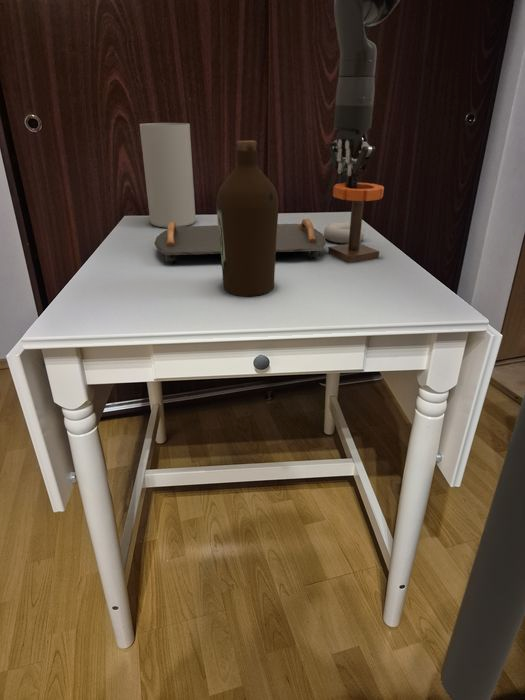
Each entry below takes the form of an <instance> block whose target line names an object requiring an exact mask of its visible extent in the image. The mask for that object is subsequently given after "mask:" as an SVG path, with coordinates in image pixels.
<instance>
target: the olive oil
mask: <svg viewBox="0 0 525 700" xmlns="http://www.w3.org/2000/svg"><path fill="white" fill-rule="evenodd" d="M257 144H258V143H257V140H249V139H248V140H245V139H244V140H237V141H236V146H237V150H236V166H235V168H234V169H233V170H232V172H231V173H230V174H229V175H228V177H226V179H225V180H224V181H223V183H221V185H220V186H219V189H218V193H217V196H216V205H215V206H216V216H217V226H218V228H219V238H220V250H221V254H220V258H221V271H222V286H223V290H224V291H225V292H226V293H229V294H231V295H234V296H240V297H257V296H262V295H266V294H269V293H270V292H272V291H273V290H274V289H275V274H276V273H275V271H276V253H277V252H276V238H277V224H279V223H278V221H279V207H280V206H279V204H280V201H279V197H278V196H279V195H278V193H277V190H276V189H277V188H276V187H275V186H274V184H273V183H272V182H271V181H270V179H269V178H268V177H267V176H266V174H265V173H264V172H263V171H262V170H261V168H259V166H258V149H257Z"/></svg>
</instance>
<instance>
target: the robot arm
mask: <svg viewBox="0 0 525 700" xmlns="http://www.w3.org/2000/svg"><path fill="white" fill-rule="evenodd" d="M400 1H401V0H334V2H333V18H334V25H335V32H336V39H337V44H338V49H339V59H338V78H337V83H336V89H335V103H334V104H335V105H334V119H333V128H334V129H335V130H337V135H336V137H335V140H334V141H329V142H328V148H329V149H328V151H329V155H330V159H331V164H332V168H333V170H334V171H337V174H339V175H338V178H339V179H338V184H339V183H347V184H346V187H347V188H351V189H357V183H359V182H358V181H359V176H360V175H362V174H366V172H367V170H368V168H369V166H370V163H371V161H372V158H373V157H374V155H375V152H376V147H375V146H374V145H370V144H369V143H368V135H367V134H368V133H367V132H368V130H370V129H371V128H372V121H373V114H374V113H373V111H374V102H375V92H376V91H375V90H376V89H375V87H376V86H375V76H376V68H377V67H376V66H377V54H378V49H377V45H376V44H375V43H374V42H373V41H371V40H369V39H368V38H367V35H366V29H365V27H370V28H371V27H373V26H374V27H375V26H377V25H378V24H380V23H382V22H383V21H385V20H386V19H387V18H388V17H389V15H391V13H393V11H394V9H395V8H396V7H397V5H398V4H399V2H400Z"/></svg>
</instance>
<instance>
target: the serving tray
mask: <svg viewBox="0 0 525 700" xmlns="http://www.w3.org/2000/svg"><path fill="white" fill-rule="evenodd" d="M326 244H327V241H326V238H325V236H324V233H322V232H321V231H319V230H317V229H316V228H315V227H314V225H313V222H312V221H311V220H310V219H308V218H303V219H302V220H301V223H277V238H276V253H294V252H295V253H297V252H300V253H301V252H308V253H309V254H308V255H309V258H310V260H313V261H314V260H316V261H317V260H318V258H319V256H320V252H321V251H322V250H324V248H325V246H326ZM154 246H155V248H156V250H158V251H159V252H160V253H161V254H162V255H165V262H167V264H169V265H172V264H175V262H176V256H183V255H184V256H187V255H189V256H192V255H219V254H220V255H221V250H220V238H219V228H218V225H215V224H214V225H188V226H178V227H176V223H175V222H170V223H169V225H168V228H167V229H166V230H164V231H161V232H160V233H159V234H158V235H157V236H156V238H155V241H154Z"/></svg>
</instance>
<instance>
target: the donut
mask: <svg viewBox="0 0 525 700" xmlns="http://www.w3.org/2000/svg"><path fill="white" fill-rule="evenodd" d="M349 233H350V222H333V223H330V224H327V225H326V226H325V227H324V229H323V235H324V237H325V240H327V241H329V242H332V243H335V244H349ZM365 235H366V234H365V229H364V228H363V227H362V226H361V235H360V241H362V240H363V239H364V237H365Z"/></svg>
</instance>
